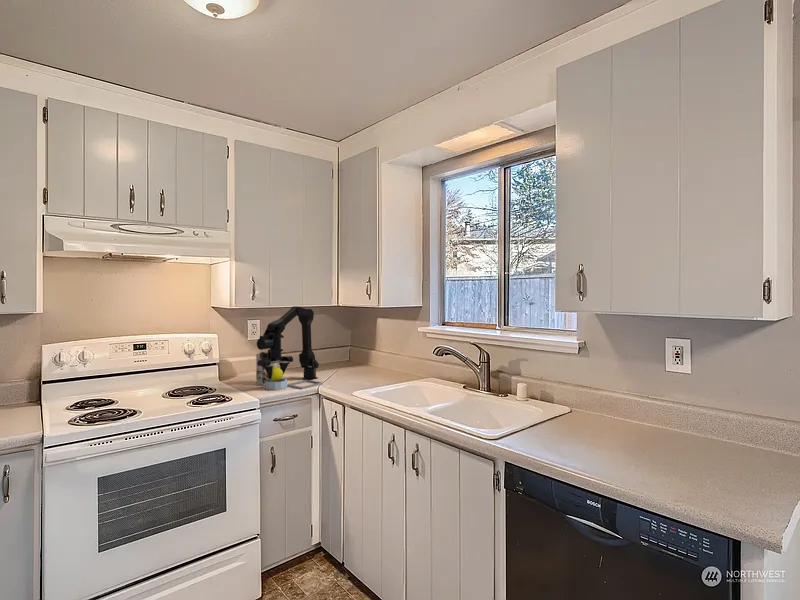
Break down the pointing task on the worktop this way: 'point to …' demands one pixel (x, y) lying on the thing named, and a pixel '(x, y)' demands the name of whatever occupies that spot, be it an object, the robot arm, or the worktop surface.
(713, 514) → the worktop surface
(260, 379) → the coffee box
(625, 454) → the worktop surface
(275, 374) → the tennis ball
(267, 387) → the bowl
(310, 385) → the grey square frame
